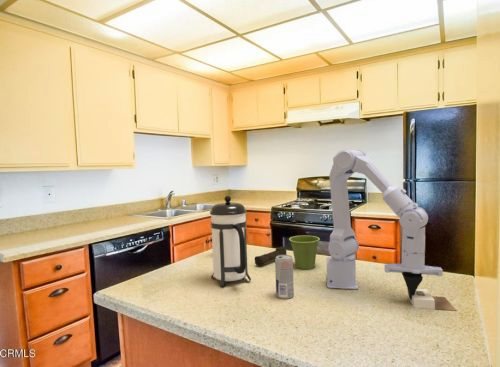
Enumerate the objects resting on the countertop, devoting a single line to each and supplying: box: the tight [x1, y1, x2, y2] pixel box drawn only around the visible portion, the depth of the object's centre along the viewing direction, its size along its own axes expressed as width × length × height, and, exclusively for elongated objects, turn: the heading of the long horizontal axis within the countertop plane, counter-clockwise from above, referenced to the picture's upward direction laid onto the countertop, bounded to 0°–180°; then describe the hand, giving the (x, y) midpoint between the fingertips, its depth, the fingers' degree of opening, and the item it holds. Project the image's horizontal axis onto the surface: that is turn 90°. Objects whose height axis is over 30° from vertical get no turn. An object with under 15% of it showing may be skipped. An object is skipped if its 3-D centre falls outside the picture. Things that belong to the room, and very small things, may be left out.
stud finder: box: [407, 288, 435, 310], centre depth 91 cm, size 5×8×3 cm, turn 166°
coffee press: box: [209, 195, 252, 288], centre depth 113 cm, size 17×16×30 cm
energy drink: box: [274, 254, 295, 300], centre depth 99 cm, size 5×5×12 cm
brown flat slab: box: [431, 295, 457, 312], centre depth 90 cm, size 5×9×1 cm, turn 166°
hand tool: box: [254, 246, 288, 267], centre depth 136 cm, size 19×4×5 cm, turn 135°
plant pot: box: [288, 234, 321, 270], centre depth 127 cm, size 12×12×11 cm
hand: (411, 298), depth 92 cm, fingers closed, pressing on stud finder
